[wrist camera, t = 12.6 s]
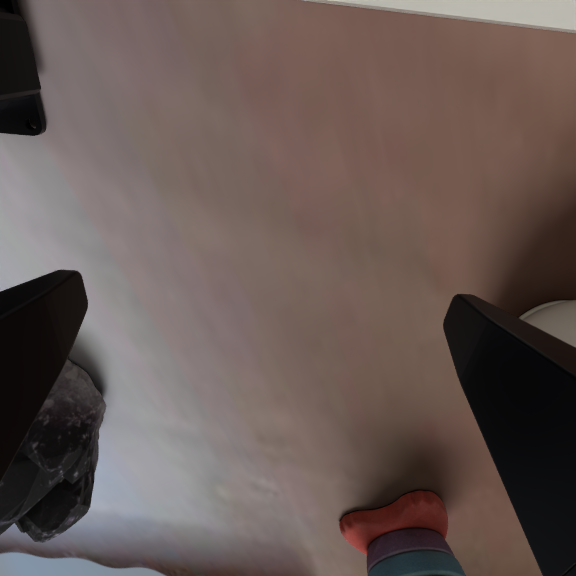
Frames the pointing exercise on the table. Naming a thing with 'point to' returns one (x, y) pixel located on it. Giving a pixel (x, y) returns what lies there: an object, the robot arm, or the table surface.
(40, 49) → the table surface
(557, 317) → the lidded jar
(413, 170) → the table surface
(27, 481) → the dark rough rock
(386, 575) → the stacking bear
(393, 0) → the stone board
